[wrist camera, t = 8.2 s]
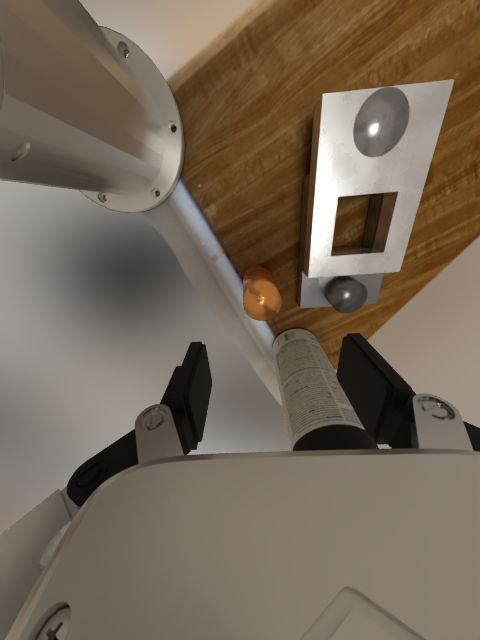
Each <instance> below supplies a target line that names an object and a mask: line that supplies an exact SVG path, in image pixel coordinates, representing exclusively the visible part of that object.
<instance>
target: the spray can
mask: <svg viewBox="0 0 480 640" xmlns="http://www.w3.org/2000/svg"><path fill="white" fill-rule="evenodd" d="M272 354H273V359H274V364H275V369H276V374H277V379H278V384H279V390H280V395H281V400H282V405H283V410H284V415H285V420H286V425H287V430H288V436H289V441H290V446H291V451H316V450H357V449H379V448H378V446H377V444H376V443H375V441H374V439H373V438H372V437H370V436H369V435H368V434H367V433H366V431H365V429H364V427H363V425H362V424H361V422H360V420H359V418H358V416H357V415H356V413H355V411H354V409H353V407H352V405H351V404H350V402H349V400H348V398H347V396H346V395H345V393H344V391H343V389H342V387H341V386H340V384H339V382H338V380H337V376H336V374H337V373H336V372H335V370H334V368H333V366H332V365H331V363H330V361H329V359H328V358H327V356H326V354H325V352H324V351H323V349H322V347H321V345H320V344H319V342H318V340H317V338H316V337H315V336H314V335H313V334H312V333H311V332H309V331H307V330H305V329H290V330H287V331H284V332H282V333H281V334H280V335H279V336H278V337H277V338H276V340H275V341H274V344H273V346H272Z"/></svg>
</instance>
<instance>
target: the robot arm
mask: <svg viewBox="0 0 480 640" xmlns="http://www.w3.org/2000/svg"><path fill="white" fill-rule="evenodd" d="M128 53H129V55H128V57H126V55H127V54H128ZM173 127H176V128H177V130H176V132H175V133H173V131H172V129H173ZM184 150H185V140H184V131H183V124H182V120H181V117H180V113H179V109H178V106H177V104H176V101H175V99H174V97H173V94H172V92H171V90H170V88H169V86H168V84H167V83H166V81H165V79H164V77H163V76H162V74H161V73H160V71H159V70H158V69H157V67H156V66H155V64H154V63H153V62H152V60H151V59H150V58H149V57H148V56H147V55H146V54H145V53H144V52H143V51H142V50H141V49H140V47H139V46H138V45H136V44H135V43H134V42H132V41H131V40H130V39H128V38H127V37H126V36H124V35H122V34H120V33H118V32H116V31H114V30H111V29H109V28H107V27H102V26H98V25H97V23H96V22H95V21H94V20H93V18H92V17H91V16H90V14H89V13H88V12H87V11H86V9H85V8H84V7H83V6H82V4H81V3H80V2H79V0H0V180H4V181H12V182H20V183H28V184H36V185H44V186H52V187H60V188H69V189H77V190H79V191H80V192H82V193H83V194H84V195H85V196H86V197H88V198H89V199H91V200H92V201H94V202H95V203H97V204H99V205H101V206H103V207H106V208H108V209H110V210H114V211H119V212H125V213H136V212H144V211H147V210H150V209H153V208H155V207H156V206H158V205H159V204H161V203H163V202H164V201H165V199H166V198H167V197H168V196H169V195H170V194H171V193H172V191H173V190H174V188H175V186H176V185H177V183H178V180H179V177H180V175H181V172H182V167H183V162H184ZM157 191H160V196H158V195H157ZM105 196H106V198H107V200H106V199H105ZM336 376H337V380H338V382H339V384H340V386H341V387H342V389H343V391H344V393H345V395H346V396H347V398H348V400H349V402H350V404H351V405H352V407H353V409H354V411H355V413H356V415H357V416H358V418H359V420H360V422H361V424H362V425H363V427H364V429H365V431H366V433H367V434H368V435H369V436H370V437H372V438H373V439H374V441H375V443H376V444H388V445H389V446H390V447H392V449H357V450H316V451H282V452H249V453H219V454H200V455H187V454H188V453H189V452H190V451H191V450H196V449H197V445H198V442H201V441H202V437H203V431H204V426H205V420H206V415H207V410H208V404H209V399H210V393H211V387H212V378H211V372H210V368H209V362H208V356H207V351H206V346H205V344H202V342H191V343H190V346H189V348H188V351H187V353H186V356H185V358H184V361H183V363H182V366H177V367H176V368H175V370H174V372H173V375H172V377H171V379H170V382H169V384H168V387H167V389H166V391H165V393H164V395H163V398H162V400H161V402H160V404H155V405H152V406H150V407H148V408H146V409H145V410H144V411H142V412H141V413H140V415H139V416H138V417H137V419H136V421H135V429H134V430H132V431H131V432H129V433H128V434H126V435H125V436H123V437H122V438H120V439H119V440H117V441H116V442H114V443H113V444H111V445H110V446H109V447H107V448H105V449H104V450H102V451H101V452H99V453H98V454H96V455H95V456H94V457H92V458H90V459H89V460H87V461H86V462H85V463H84V464H82V465H81V466H80V467H79V468H78V469H77V470H76V471H75V472H74V474H73V475H72V477H71V478H70V480H69V482H68V485H67V487H65V488H64V489H63V490H62V491H60V490H59V489H58V490H56V491H55V492H54V493H53V494H51V495H50V496H49V497H48V498H46V499H45V500H44V501H43V502H41V503H40V504H39V505H37V506H36V507H35V508H34V509H32V510H31V511H30V512H29V513H27V514H26V515H25V516H23V517H22V518H21V519H20V520H18V521H17V522H16V523H15V524H13V525H12V526H11V527H9V529H7V530H6V531H4V532H3V533H2V534H1V535H0V640H480V428H478V427H476V426H474V425H471V424H469V423H467V422H464V421H463V420H462V417H461V415H460V413H459V411H458V410H457V409H456V408H455V407H454V406H453V405H452V404H450V403H449V402H447V401H446V400H444V399H442V398H440V397H437V396H434V395H431V394H416V393H415V392H414V391H413V390H412V388H411V387H410V386H409V385H408V384H407V383H406V382H405V381H404V380H403V378H401V376H400V375H399V374H398V373H397V372H396V371H395V370H394V369H393V368H392V367H391V366H390V365H389V364H388V363H387V362H386V360H384V358H383V357H382V356H381V355H380V354H379V353H378V352H377V351H376V350H375V349H374V348H373V347H372V346H371V345H370V344H369V342H368V341H367V340H366V339H365V338H364V337H363V336H362V335H361V334H360V333H351V334H347V335H346V336H345V337H343V341H342V347H341V352H340V357H339V363H338V368H337V374H336Z"/></svg>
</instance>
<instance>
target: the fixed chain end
mask: <svg viewBox="0 0 480 640" xmlns="http://www.w3.org/2000/svg"><path fill="white" fill-rule="evenodd" d="M309 180H310V174H309V175H307V176H305V177H303V194H302V212H301V230H300V248H299V266H298V284H297V304H298V305H299V307H300V308H314V307H330V306H333V307H334V308H335V309H336V310H337V311H338V312H341V313H351V312H354V311H356V310H358V309H359V308H360V307H362V306H363V304H376V303H377V299H378V295H379V291H380V287H381V283H382V279H383V275H384V273H373V274H358V275H344V276H329V277H315V278H308V277H307V276H306V275H305V274H304V273H303V269H304V254H305V240H306V225H307V210H308V195H309ZM369 195H370V194H369ZM357 196H359V195H357ZM346 197H347V196H346ZM383 197H384V193H380V194H371V197H370V202H369V208H368V213H367V218H366V224H365V229H364V234H363V240H362V245H361V246H347V247H334V248H332V250H331V252H339V251H353V250H366V249H373V244H374V239H375V235H376V230H377V225H378V221H379V216H380V211H381V206H382V202H383Z"/></svg>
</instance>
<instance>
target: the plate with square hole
mask: <svg viewBox="0 0 480 640" xmlns="http://www.w3.org/2000/svg"><path fill="white" fill-rule="evenodd" d="M453 83H454V79H452V80H444V81H435V82H426V83H417V84H408V85H399V86H390V87H381V88H372V89H363V90H354V91H345V92H336V93H328V94H322V96H321V97H320V99H319V100H318V102H317V103H316V105H315V106H314V120H313V135H312V150H311V165H310V180H309V195H308V210H307V225H306V240H305V254H304V269H303V273H304V274H305V275H306V276H307V277H308V278H315V277H329V276H344V275H358V274H373V273H387V272H400V269H401V265H402V262H403V258H404V255H405V251H406V248H407V244H408V241H409V237H410V234H411V230H412V226H413V223H414V219H415V216H416V212H417V209H418V205H419V202H420V198H421V195H422V191H423V188H424V184H425V181H426V177H427V174H428V170H429V167H430V163H431V160H432V156H433V153H434V149H435V146H436V142H437V139H438V135H439V132H440V128H441V125H442V121H443V118H444V114H445V111H446V107H447V104H448V100H449V97H450V93H451V90H452V86H453ZM380 193H384V197H383V202H382V206H381V211H380V216H379V221H378V225H377V230H376V235H375V239H374V244H373V249H366V250H353V251H339V252H331V250H332V242H333V234H334V226H335V218H336V210H337V202H338V197H346V196H357V195H369V194H380Z"/></svg>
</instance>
